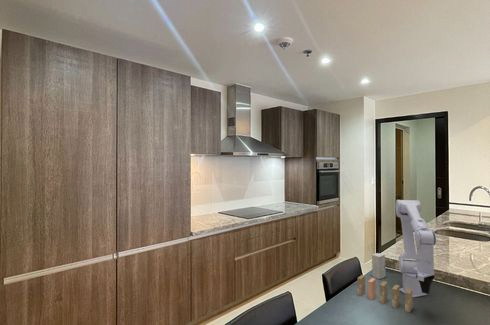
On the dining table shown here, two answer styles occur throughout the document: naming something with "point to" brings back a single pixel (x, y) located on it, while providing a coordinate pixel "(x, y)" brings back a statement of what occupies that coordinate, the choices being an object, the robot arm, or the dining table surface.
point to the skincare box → (378, 265)
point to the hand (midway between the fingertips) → (425, 292)
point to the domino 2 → (371, 288)
